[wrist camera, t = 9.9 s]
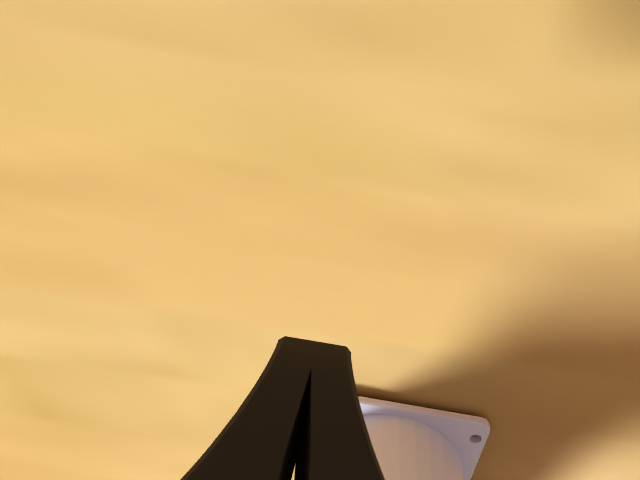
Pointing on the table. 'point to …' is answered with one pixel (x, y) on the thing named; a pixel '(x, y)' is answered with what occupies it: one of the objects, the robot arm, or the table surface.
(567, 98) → the table surface
